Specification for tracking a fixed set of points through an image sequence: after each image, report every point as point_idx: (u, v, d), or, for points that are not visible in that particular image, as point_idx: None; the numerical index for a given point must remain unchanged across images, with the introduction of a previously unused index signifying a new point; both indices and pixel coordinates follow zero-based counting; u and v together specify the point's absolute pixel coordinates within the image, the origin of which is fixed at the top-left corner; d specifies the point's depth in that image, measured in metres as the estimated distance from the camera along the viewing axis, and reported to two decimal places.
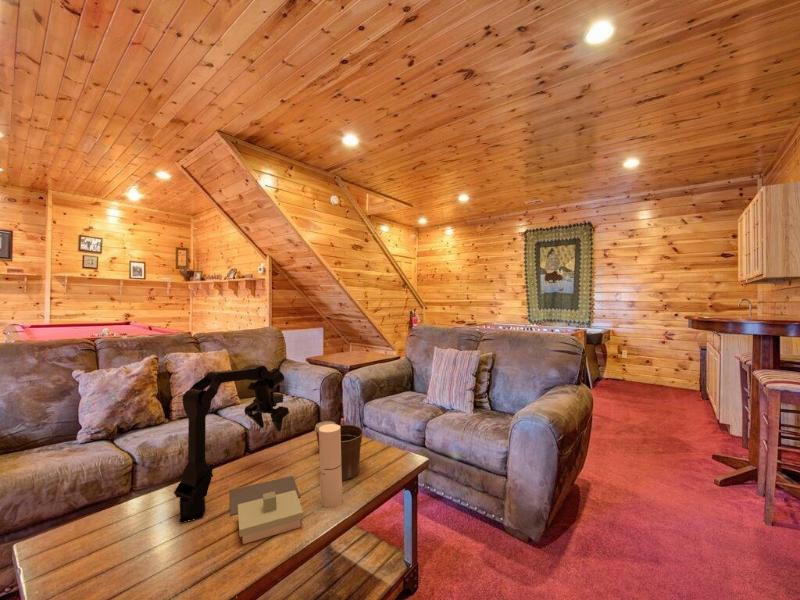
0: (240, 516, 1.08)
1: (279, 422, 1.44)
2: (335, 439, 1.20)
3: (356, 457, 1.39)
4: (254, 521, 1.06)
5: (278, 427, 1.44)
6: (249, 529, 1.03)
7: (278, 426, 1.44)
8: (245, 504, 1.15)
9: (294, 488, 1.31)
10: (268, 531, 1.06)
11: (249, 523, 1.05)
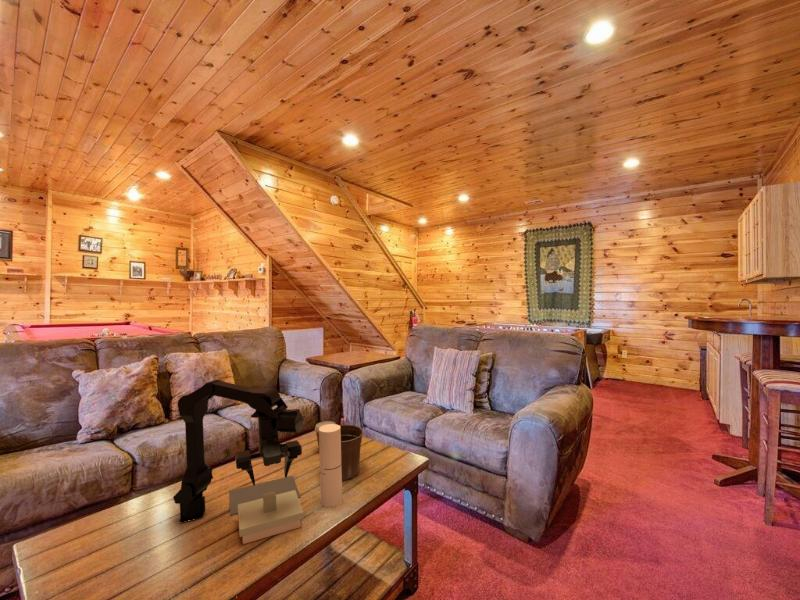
0: (240, 516, 1.08)
1: None
2: (335, 439, 1.20)
3: (356, 457, 1.38)
4: (254, 521, 1.06)
5: None
6: (249, 529, 1.03)
7: None
8: (245, 504, 1.15)
9: (294, 488, 1.31)
10: (268, 531, 1.06)
11: (249, 523, 1.05)
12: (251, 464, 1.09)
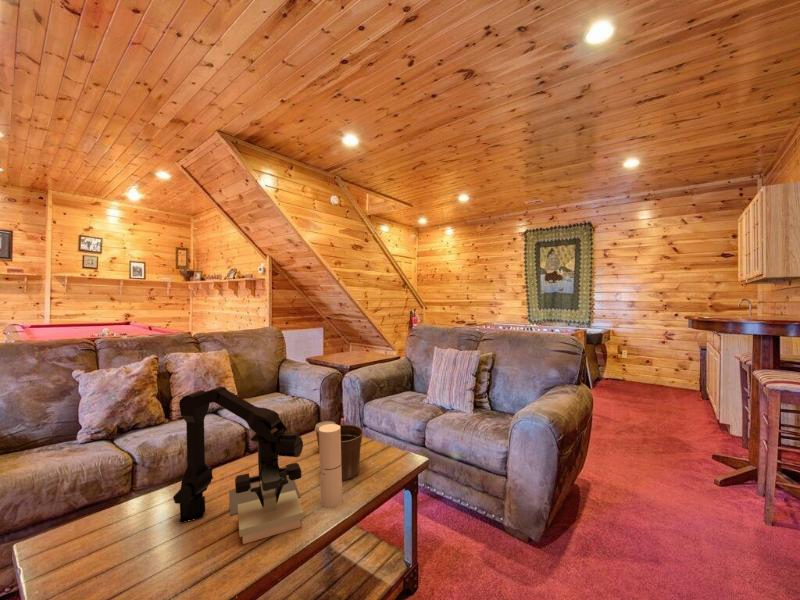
0: (240, 516, 1.08)
1: None
2: (335, 439, 1.20)
3: (356, 457, 1.39)
4: (254, 521, 1.06)
5: None
6: (249, 529, 1.03)
7: None
8: (245, 504, 1.15)
9: (294, 488, 1.31)
10: (268, 531, 1.06)
11: (249, 523, 1.05)
12: (260, 486, 1.10)
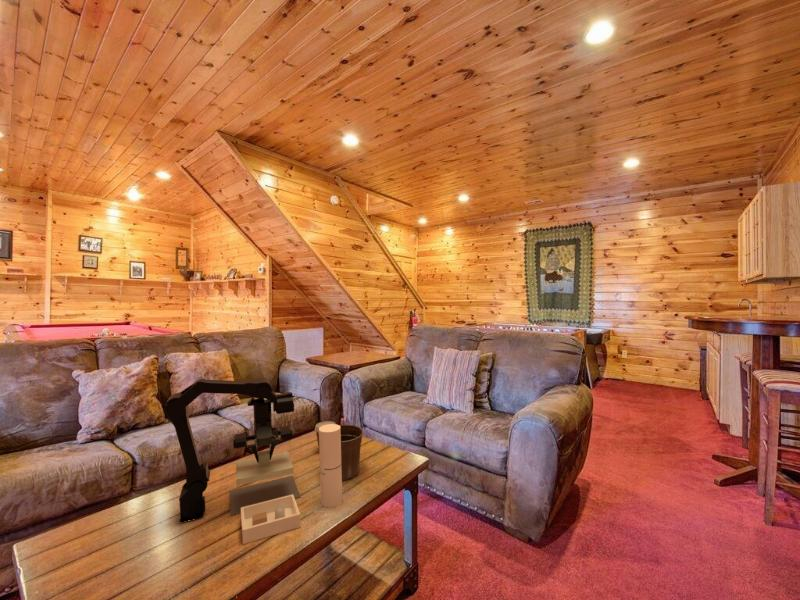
0: (237, 470, 1.22)
1: None
2: (335, 439, 1.20)
3: (356, 457, 1.39)
4: (249, 473, 1.20)
5: None
6: (245, 479, 1.17)
7: None
8: (243, 461, 1.28)
9: (294, 488, 1.31)
10: (268, 531, 1.06)
11: (245, 475, 1.19)
12: (255, 443, 1.24)
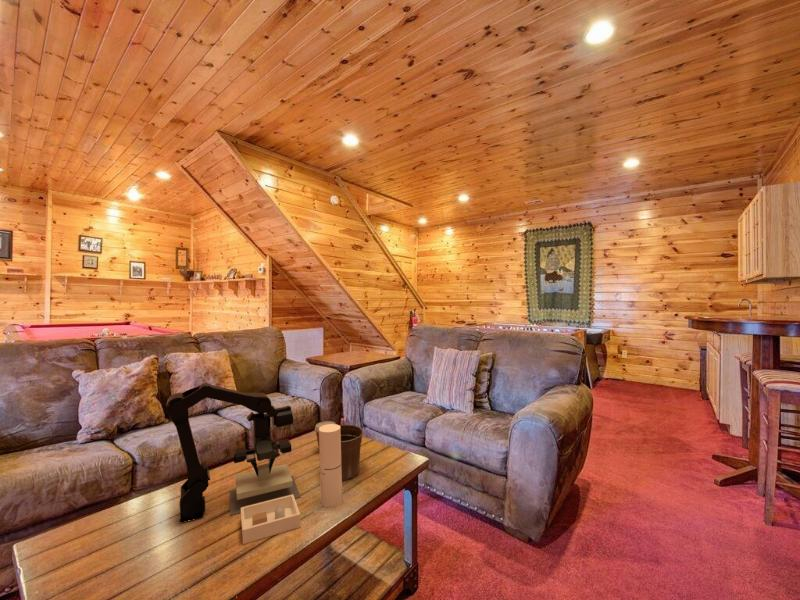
0: (237, 483, 1.24)
1: None
2: (335, 439, 1.20)
3: (356, 457, 1.39)
4: (249, 487, 1.22)
5: None
6: (245, 493, 1.19)
7: None
8: (242, 474, 1.31)
9: (294, 488, 1.31)
10: (268, 531, 1.06)
11: (245, 489, 1.21)
12: (255, 457, 1.26)
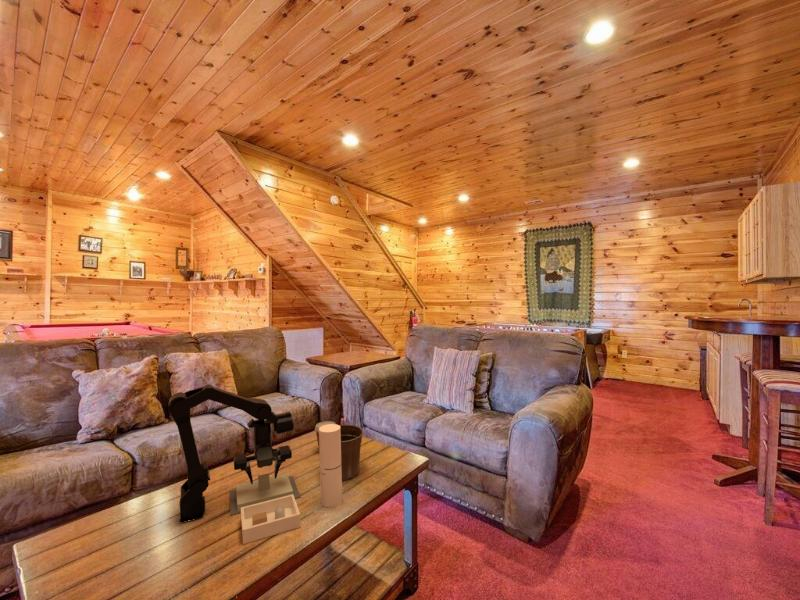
0: (238, 494, 1.25)
1: None
2: (335, 439, 1.20)
3: (356, 457, 1.39)
4: (250, 498, 1.22)
5: None
6: (246, 504, 1.20)
7: None
8: (243, 484, 1.31)
9: (294, 488, 1.31)
10: (268, 531, 1.06)
11: (246, 499, 1.21)
12: (249, 465, 1.25)
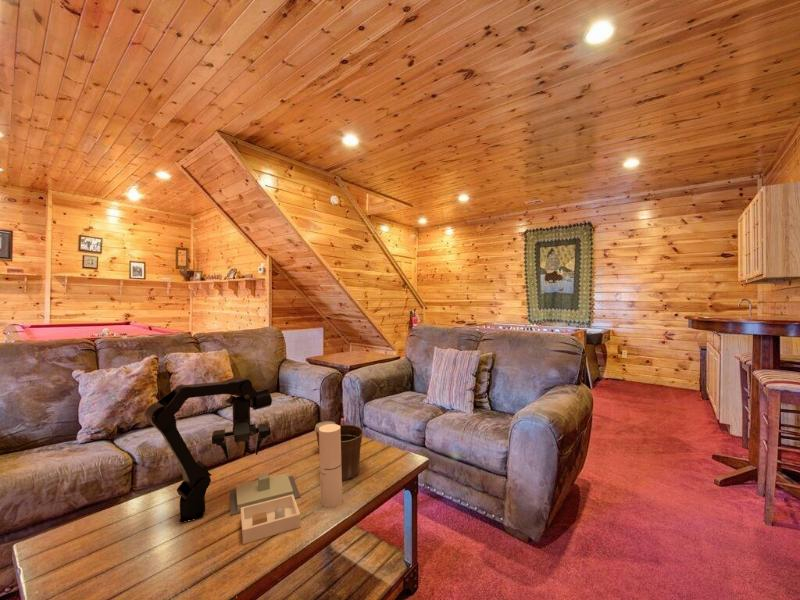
0: (238, 494, 1.25)
1: None
2: (335, 439, 1.20)
3: (356, 457, 1.39)
4: (250, 498, 1.22)
5: None
6: (246, 504, 1.20)
7: None
8: (243, 484, 1.31)
9: (294, 488, 1.31)
10: (268, 531, 1.06)
11: (246, 499, 1.21)
12: (225, 441, 1.26)
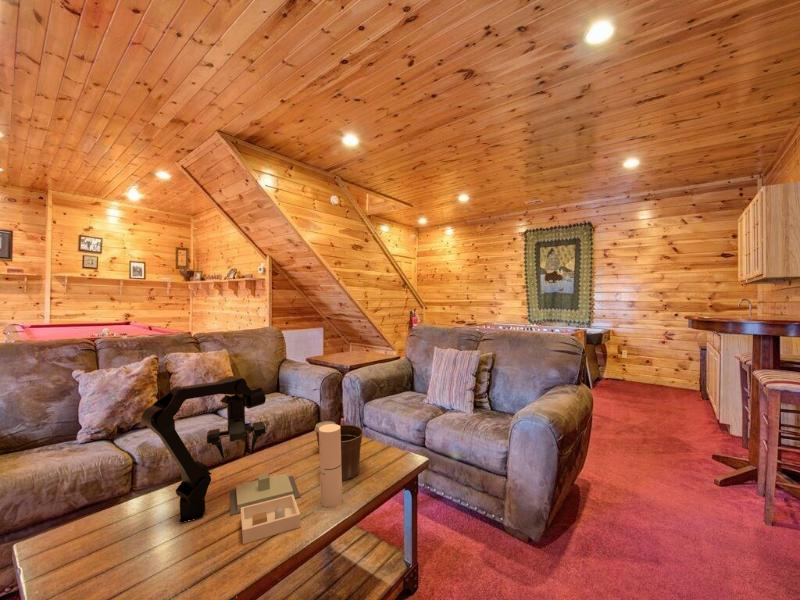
0: (238, 494, 1.25)
1: None
2: (335, 439, 1.20)
3: (356, 457, 1.38)
4: (250, 498, 1.22)
5: None
6: (246, 504, 1.20)
7: None
8: (243, 484, 1.31)
9: (294, 488, 1.31)
10: (268, 531, 1.06)
11: (246, 499, 1.21)
12: (220, 440, 1.27)
